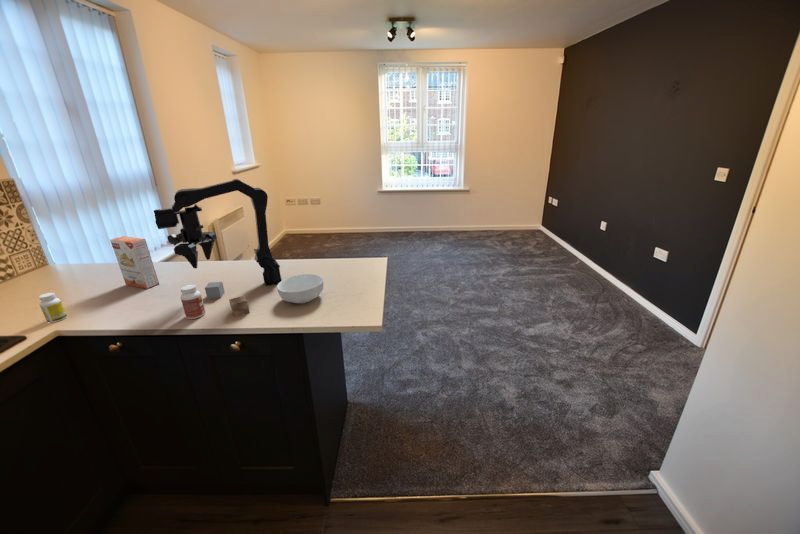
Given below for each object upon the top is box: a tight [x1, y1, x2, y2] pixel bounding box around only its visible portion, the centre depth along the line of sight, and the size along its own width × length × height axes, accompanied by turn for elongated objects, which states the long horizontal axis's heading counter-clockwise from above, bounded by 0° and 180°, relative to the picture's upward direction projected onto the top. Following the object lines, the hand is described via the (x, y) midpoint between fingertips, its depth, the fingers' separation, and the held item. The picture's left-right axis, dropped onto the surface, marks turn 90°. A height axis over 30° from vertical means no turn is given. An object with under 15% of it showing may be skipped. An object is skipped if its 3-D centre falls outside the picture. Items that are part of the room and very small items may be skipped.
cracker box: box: [109, 235, 160, 290], centre depth 150 cm, size 14×6×21 cm, turn 68°
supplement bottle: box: [38, 292, 68, 323], centre depth 125 cm, size 5×5×10 cm
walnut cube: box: [228, 295, 250, 318], centre depth 126 cm, size 5×5×5 cm
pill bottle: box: [180, 284, 206, 320], centre depth 124 cm, size 6×6×11 cm
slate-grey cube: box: [204, 281, 225, 300], centre depth 140 cm, size 5×5×5 cm
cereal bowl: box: [276, 273, 324, 304], centre depth 135 cm, size 17×17×7 cm
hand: (202, 263), depth 136 cm, fingers open, 9 cm apart
